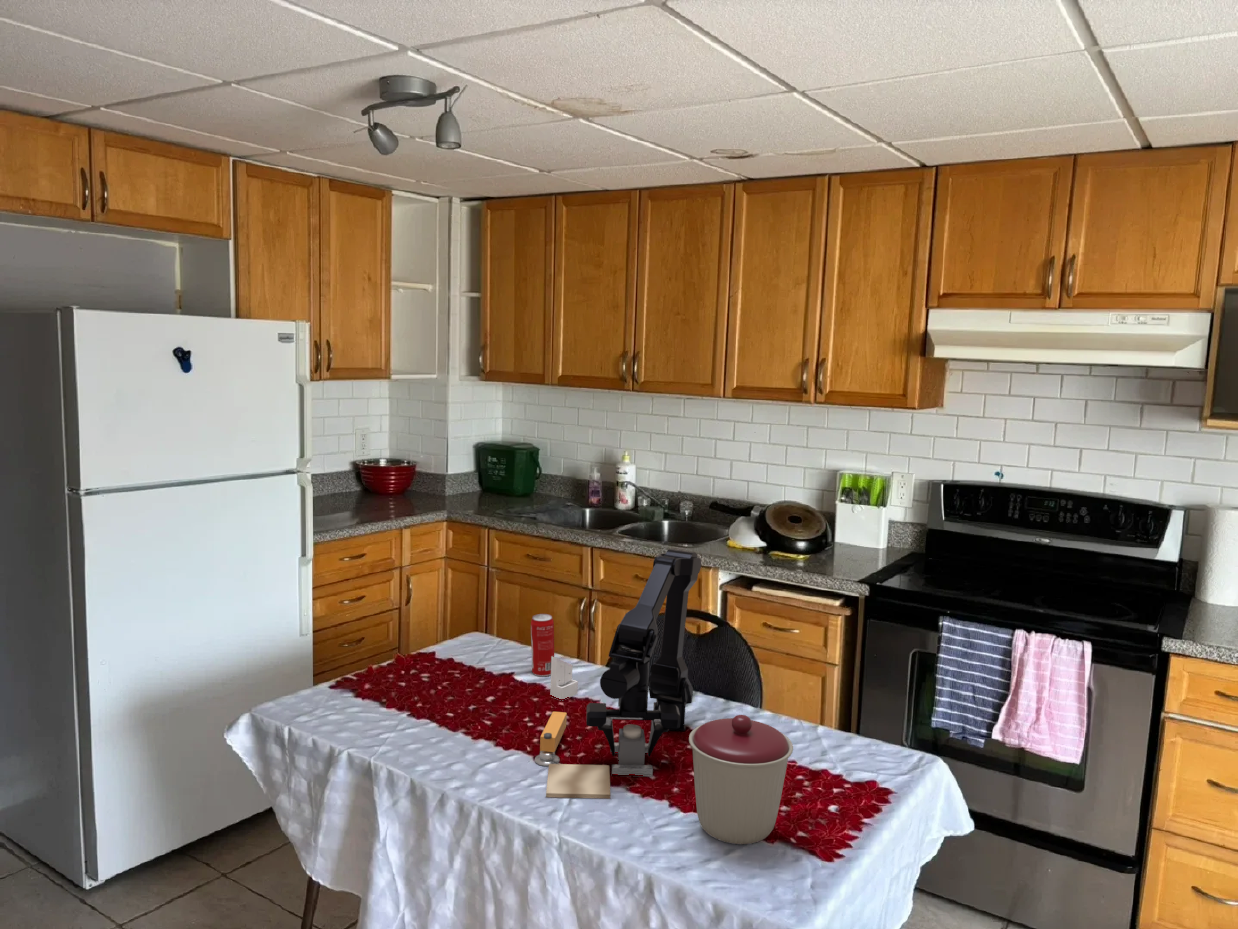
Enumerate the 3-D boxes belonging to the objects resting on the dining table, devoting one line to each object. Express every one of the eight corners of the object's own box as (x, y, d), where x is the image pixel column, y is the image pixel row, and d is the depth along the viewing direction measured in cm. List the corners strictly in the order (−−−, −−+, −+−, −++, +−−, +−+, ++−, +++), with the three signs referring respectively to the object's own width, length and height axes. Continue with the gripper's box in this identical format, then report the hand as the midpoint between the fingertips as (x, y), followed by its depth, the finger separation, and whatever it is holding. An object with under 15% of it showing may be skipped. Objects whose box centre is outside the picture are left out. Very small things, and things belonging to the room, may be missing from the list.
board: (609, 769, 187) (609, 765, 187) (610, 798, 175) (610, 794, 175) (548, 767, 187) (549, 764, 187) (546, 797, 175) (546, 793, 175)
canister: (669, 840, 162) (675, 724, 159) (703, 795, 178) (709, 689, 175) (772, 868, 154) (780, 747, 152) (797, 818, 171) (805, 708, 168)
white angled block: (538, 691, 219) (551, 656, 222) (561, 701, 227) (574, 667, 229) (549, 695, 217) (563, 659, 220) (573, 705, 225) (585, 670, 227)
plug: (642, 757, 193) (643, 722, 192) (644, 770, 188) (645, 734, 186) (618, 756, 193) (619, 721, 192) (619, 769, 187) (620, 734, 186)
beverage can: (558, 671, 240) (560, 614, 238) (545, 679, 234) (547, 621, 232) (538, 667, 242) (539, 611, 240) (525, 675, 236) (526, 617, 234)
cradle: (648, 750, 196) (649, 742, 196) (652, 776, 185) (652, 767, 185) (536, 748, 195) (536, 739, 195) (532, 773, 184) (533, 765, 184)
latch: (552, 724, 202) (553, 708, 202) (566, 726, 202) (566, 710, 202) (539, 752, 189) (539, 735, 188) (553, 754, 189) (554, 737, 188)
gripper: (677, 668, 196) (673, 739, 199) (587, 666, 196) (585, 737, 198) (682, 688, 185) (678, 763, 187) (587, 686, 185) (585, 761, 187)
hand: (631, 755), depth 190 cm, fingers open, 7 cm apart
